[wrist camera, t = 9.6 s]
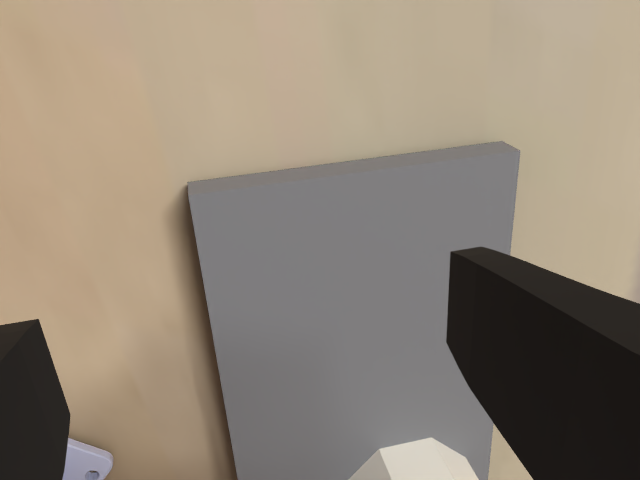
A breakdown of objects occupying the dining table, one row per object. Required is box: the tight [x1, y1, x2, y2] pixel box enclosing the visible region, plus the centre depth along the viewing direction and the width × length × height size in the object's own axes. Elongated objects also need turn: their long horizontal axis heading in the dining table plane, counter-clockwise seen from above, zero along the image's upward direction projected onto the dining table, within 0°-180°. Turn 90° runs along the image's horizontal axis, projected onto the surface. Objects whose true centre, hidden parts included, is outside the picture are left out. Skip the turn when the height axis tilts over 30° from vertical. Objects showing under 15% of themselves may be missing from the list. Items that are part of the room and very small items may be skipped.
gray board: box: [188, 141, 520, 480], centre depth 23 cm, size 20×11×1 cm, turn 4°
